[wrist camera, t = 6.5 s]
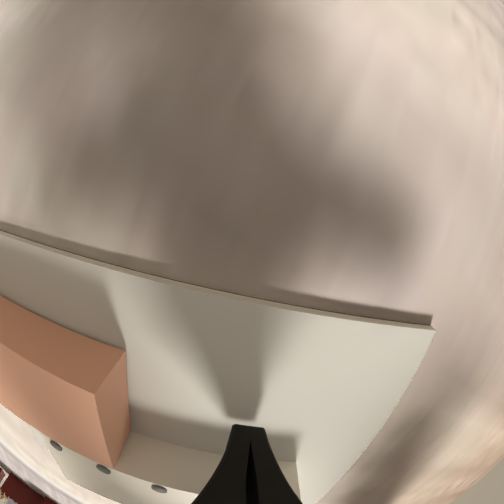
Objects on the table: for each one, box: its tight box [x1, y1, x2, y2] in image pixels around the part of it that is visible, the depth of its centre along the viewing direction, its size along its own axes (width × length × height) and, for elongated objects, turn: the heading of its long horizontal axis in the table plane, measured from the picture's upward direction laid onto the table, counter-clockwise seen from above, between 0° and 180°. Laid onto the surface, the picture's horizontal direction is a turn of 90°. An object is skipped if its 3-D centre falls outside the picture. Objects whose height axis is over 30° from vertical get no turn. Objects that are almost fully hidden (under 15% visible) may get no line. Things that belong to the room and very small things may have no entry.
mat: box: [0, 230, 436, 504], centre depth 12 cm, size 19×24×1 cm
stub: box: [0, 295, 132, 469], centre depth 9 cm, size 6×14×3 cm, turn 78°
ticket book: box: [40, 431, 301, 504], centre depth 11 cm, size 6×14×3 cm, turn 78°
